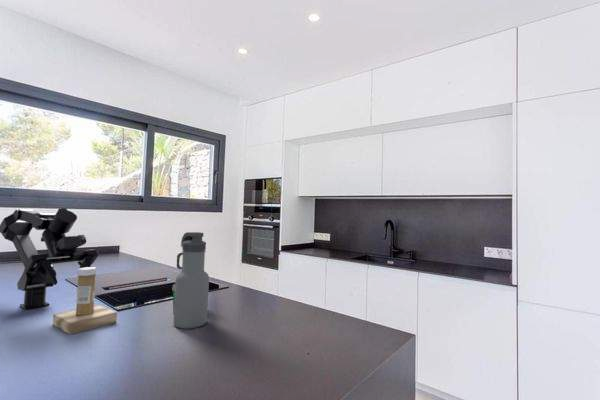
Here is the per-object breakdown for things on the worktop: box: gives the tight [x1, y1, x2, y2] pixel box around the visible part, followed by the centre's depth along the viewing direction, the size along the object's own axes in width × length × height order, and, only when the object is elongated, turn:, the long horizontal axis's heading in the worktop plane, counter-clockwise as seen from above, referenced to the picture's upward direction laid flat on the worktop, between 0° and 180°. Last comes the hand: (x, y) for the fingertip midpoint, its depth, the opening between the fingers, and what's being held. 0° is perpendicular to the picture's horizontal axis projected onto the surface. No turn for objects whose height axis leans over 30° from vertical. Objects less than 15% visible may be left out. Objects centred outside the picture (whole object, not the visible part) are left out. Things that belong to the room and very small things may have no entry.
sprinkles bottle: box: [75, 266, 97, 315], centre depth 93 cm, size 5×5×13 cm
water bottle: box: [173, 231, 210, 330], centre depth 96 cm, size 10×10×28 cm
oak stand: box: [52, 304, 118, 335], centre depth 92 cm, size 12×12×3 cm
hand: (73, 281), depth 96 cm, fingers open, 9 cm apart
